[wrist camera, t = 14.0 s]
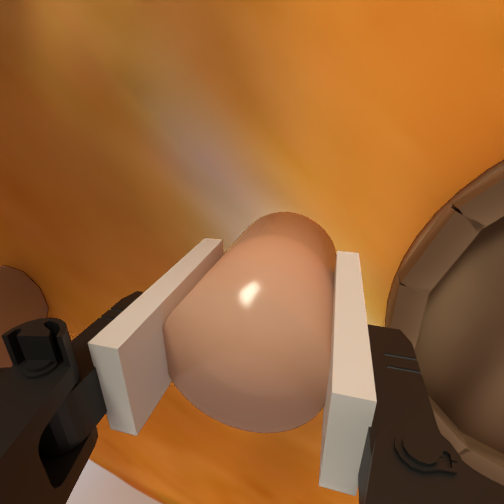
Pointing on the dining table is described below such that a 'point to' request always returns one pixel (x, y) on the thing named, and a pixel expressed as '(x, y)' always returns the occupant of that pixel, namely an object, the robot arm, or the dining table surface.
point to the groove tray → (460, 318)
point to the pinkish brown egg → (259, 328)
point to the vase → (17, 304)
